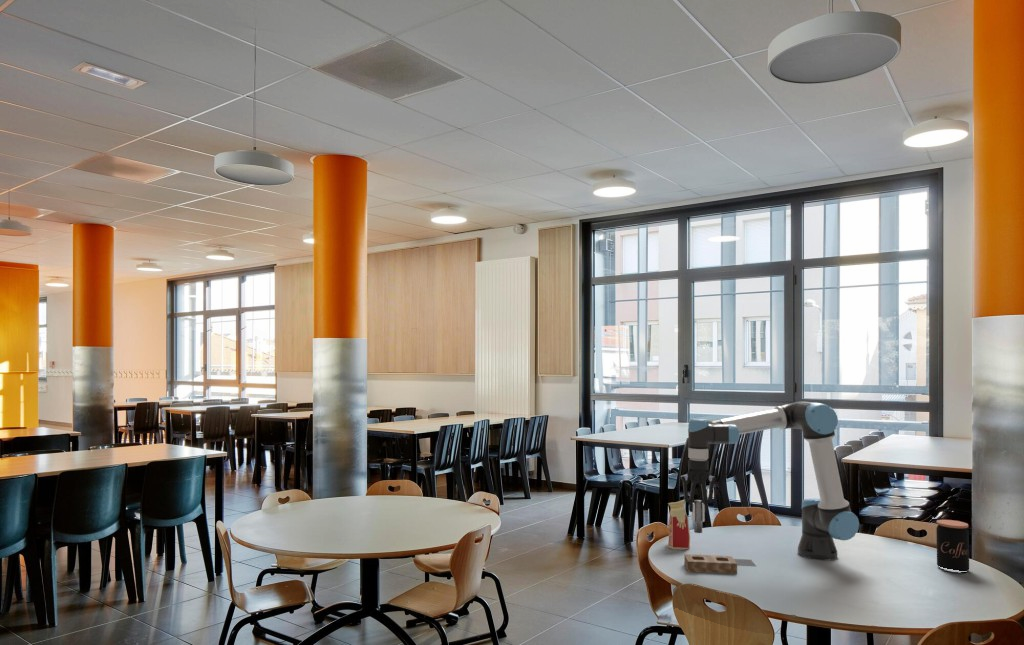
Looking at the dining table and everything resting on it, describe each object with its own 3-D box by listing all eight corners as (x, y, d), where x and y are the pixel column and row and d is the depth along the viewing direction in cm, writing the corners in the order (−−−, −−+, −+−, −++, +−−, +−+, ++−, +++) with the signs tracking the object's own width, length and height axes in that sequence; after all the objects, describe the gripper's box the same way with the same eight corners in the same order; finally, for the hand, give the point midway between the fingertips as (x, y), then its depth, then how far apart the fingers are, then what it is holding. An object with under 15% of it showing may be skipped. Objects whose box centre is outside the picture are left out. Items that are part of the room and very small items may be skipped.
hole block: (731, 566, 270) (731, 556, 270) (737, 574, 260) (737, 563, 260) (684, 564, 272) (684, 554, 272) (688, 572, 262) (688, 561, 262)
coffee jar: (938, 570, 268) (937, 523, 269) (936, 563, 277) (935, 518, 278) (971, 575, 263) (970, 527, 264) (967, 568, 272) (966, 521, 273)
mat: (751, 560, 278) (751, 559, 278) (756, 567, 269) (756, 566, 269) (728, 559, 279) (728, 558, 279) (732, 566, 270) (732, 565, 270)
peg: (701, 531, 268) (701, 499, 269) (702, 533, 265) (702, 501, 266) (693, 531, 268) (693, 499, 269) (694, 532, 265) (694, 501, 266)
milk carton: (687, 544, 301) (687, 497, 302) (690, 550, 292) (690, 502, 293) (666, 543, 302) (666, 497, 303) (668, 549, 293) (669, 501, 294)
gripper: (717, 458, 271) (717, 519, 270) (676, 457, 273) (675, 517, 272) (721, 461, 264) (721, 523, 262) (678, 459, 265) (678, 522, 264)
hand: (698, 520), depth 267 cm, fingers closed on peg, 3 cm apart
